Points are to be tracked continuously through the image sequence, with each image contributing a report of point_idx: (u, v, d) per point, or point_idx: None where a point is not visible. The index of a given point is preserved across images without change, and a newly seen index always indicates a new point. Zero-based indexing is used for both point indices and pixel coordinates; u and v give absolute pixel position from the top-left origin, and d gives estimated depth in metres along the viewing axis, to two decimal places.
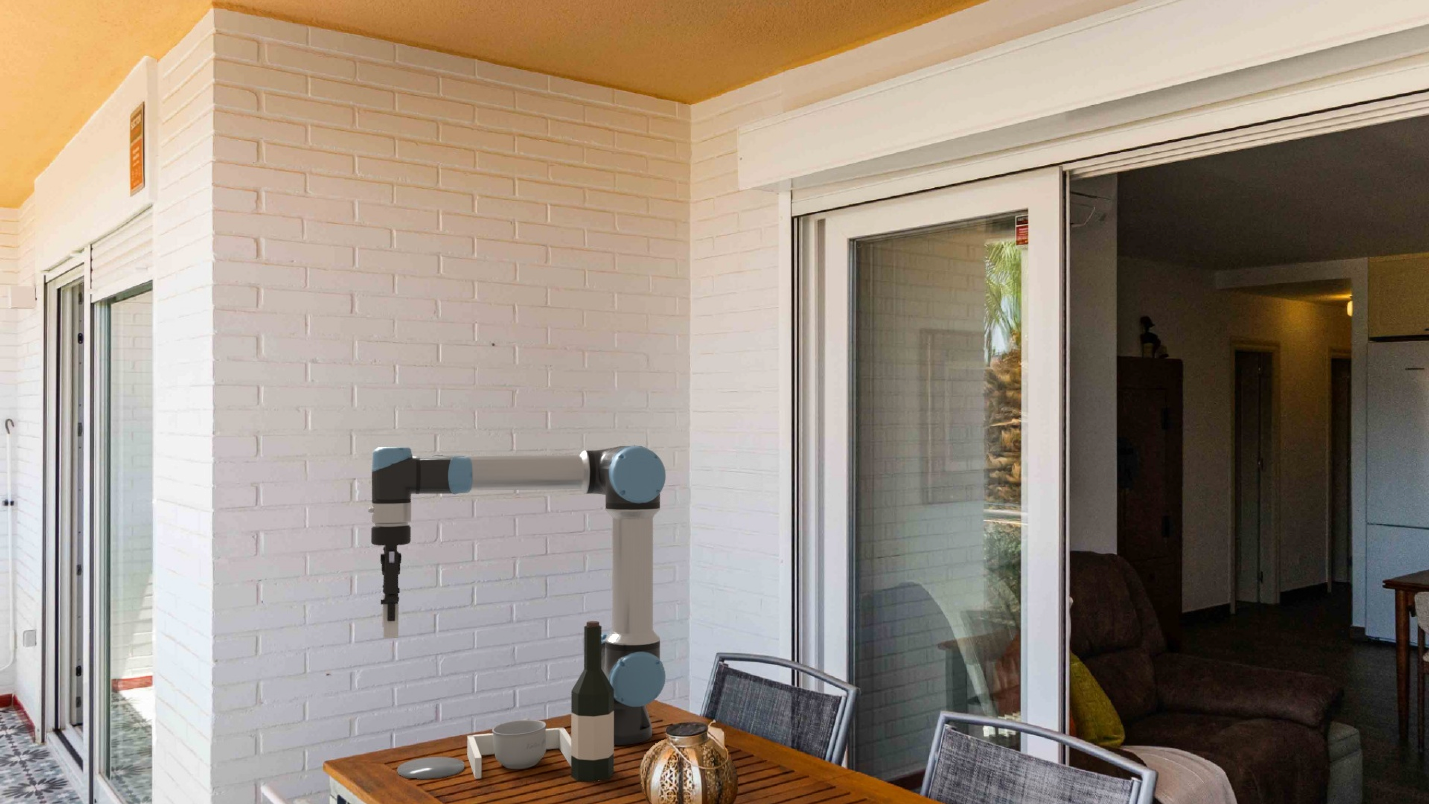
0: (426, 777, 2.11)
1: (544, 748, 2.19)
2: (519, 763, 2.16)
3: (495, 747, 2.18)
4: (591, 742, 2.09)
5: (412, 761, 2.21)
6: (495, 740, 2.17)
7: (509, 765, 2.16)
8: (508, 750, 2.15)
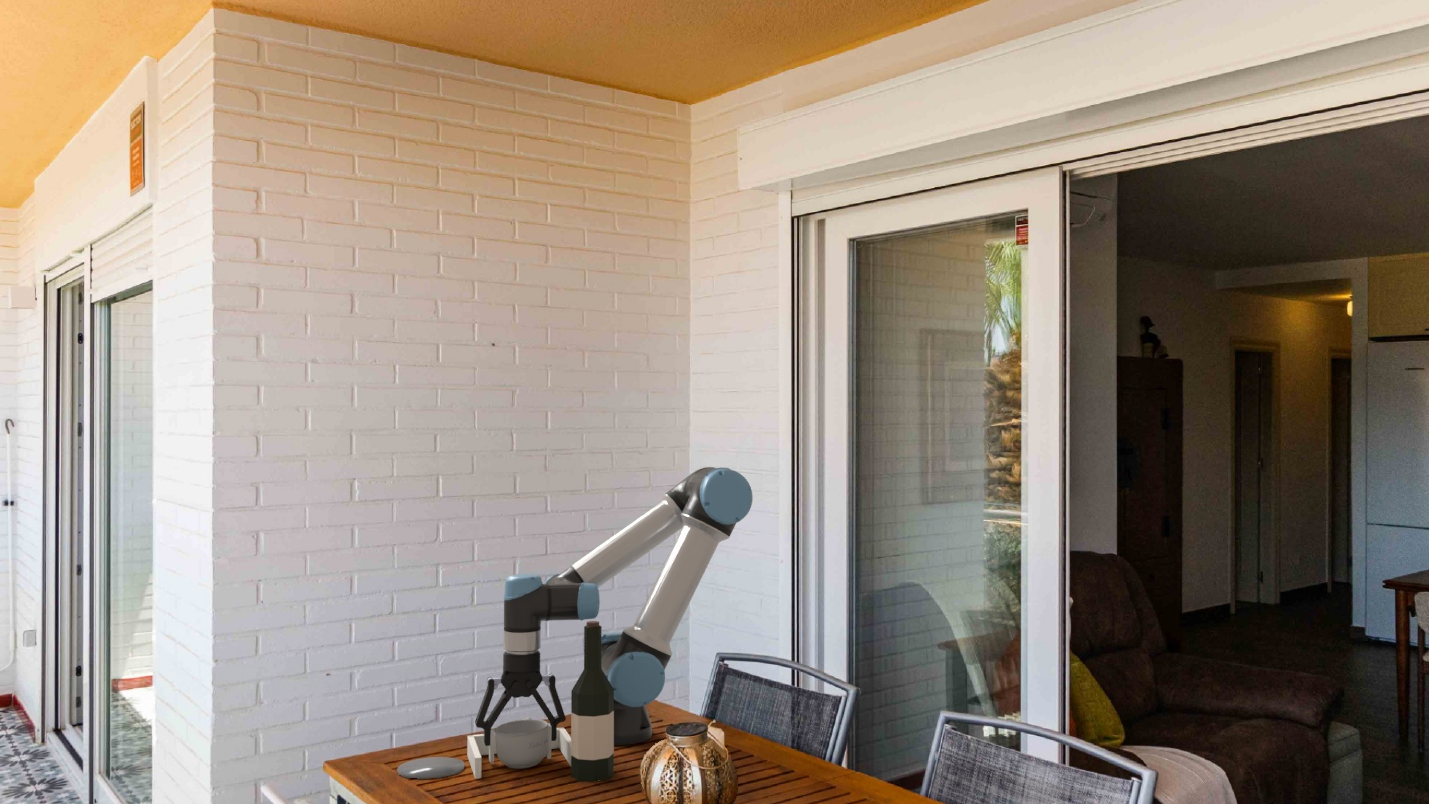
0: (426, 777, 2.11)
1: (546, 747, 2.20)
2: (521, 763, 2.16)
3: (497, 747, 2.18)
4: (591, 742, 2.09)
5: (412, 761, 2.21)
6: (497, 740, 2.18)
7: (511, 765, 2.16)
8: (510, 750, 2.15)
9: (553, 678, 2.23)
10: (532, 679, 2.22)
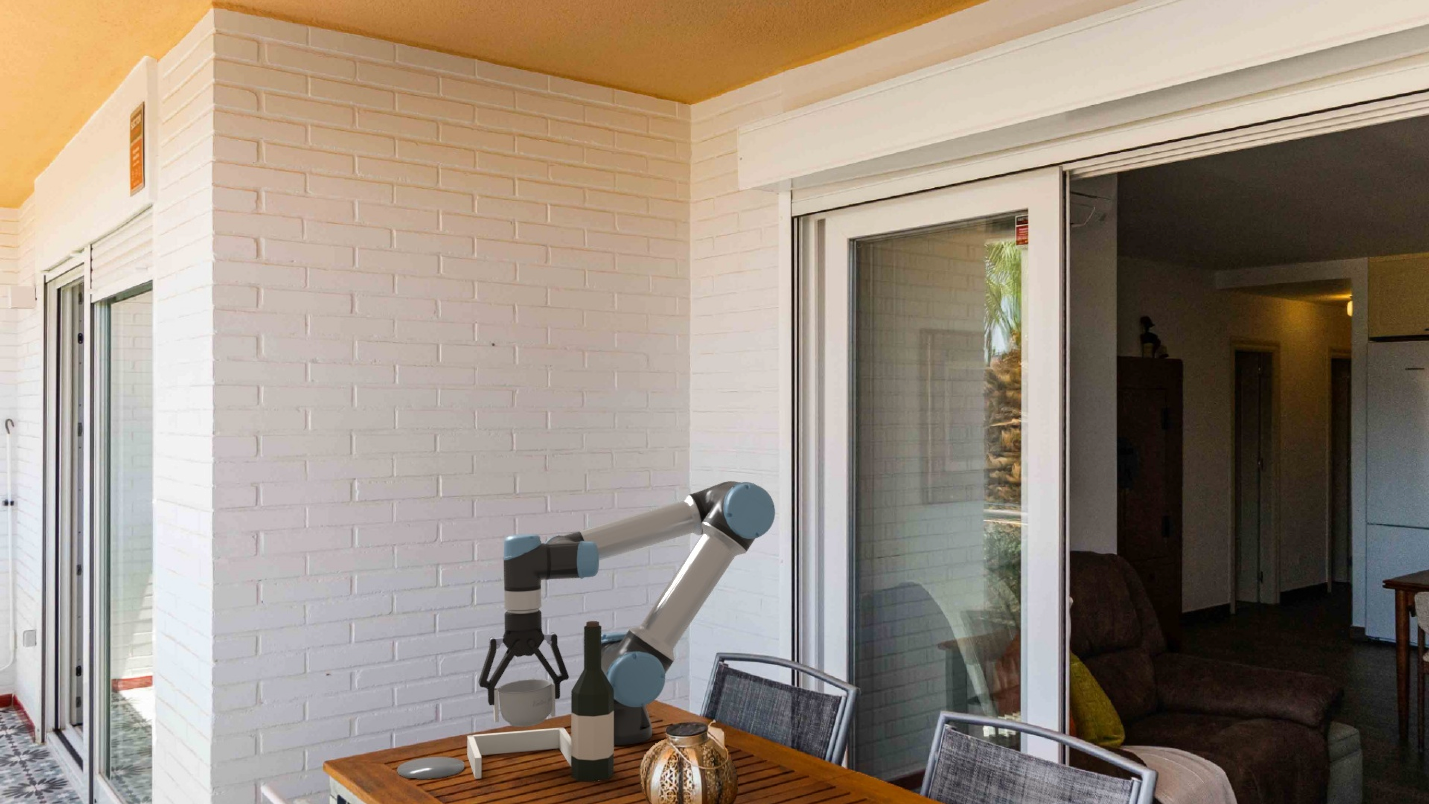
0: (426, 777, 2.11)
1: (550, 706, 2.20)
2: (526, 721, 2.16)
3: (501, 706, 2.18)
4: (591, 742, 2.09)
5: (412, 761, 2.21)
6: (501, 699, 2.18)
7: (516, 723, 2.17)
8: (514, 708, 2.16)
9: (555, 636, 2.23)
10: (534, 638, 2.22)
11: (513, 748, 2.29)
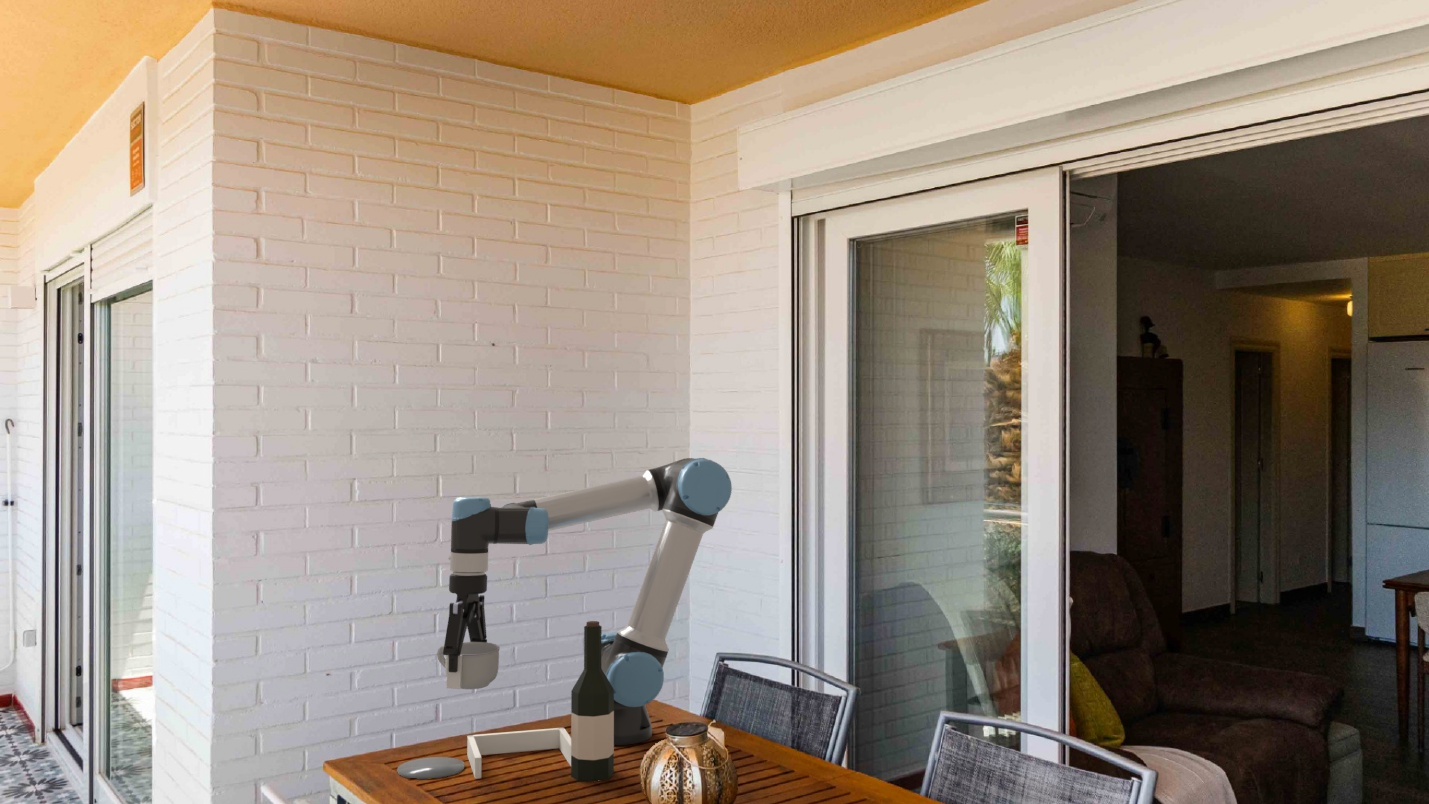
0: (426, 777, 2.11)
1: None
2: (492, 679, 2.18)
3: (469, 670, 2.14)
4: (591, 742, 2.09)
5: (412, 761, 2.21)
6: (470, 662, 2.14)
7: (483, 684, 2.16)
8: (488, 668, 2.16)
9: (484, 597, 2.26)
10: (476, 600, 2.22)
11: (513, 748, 2.29)
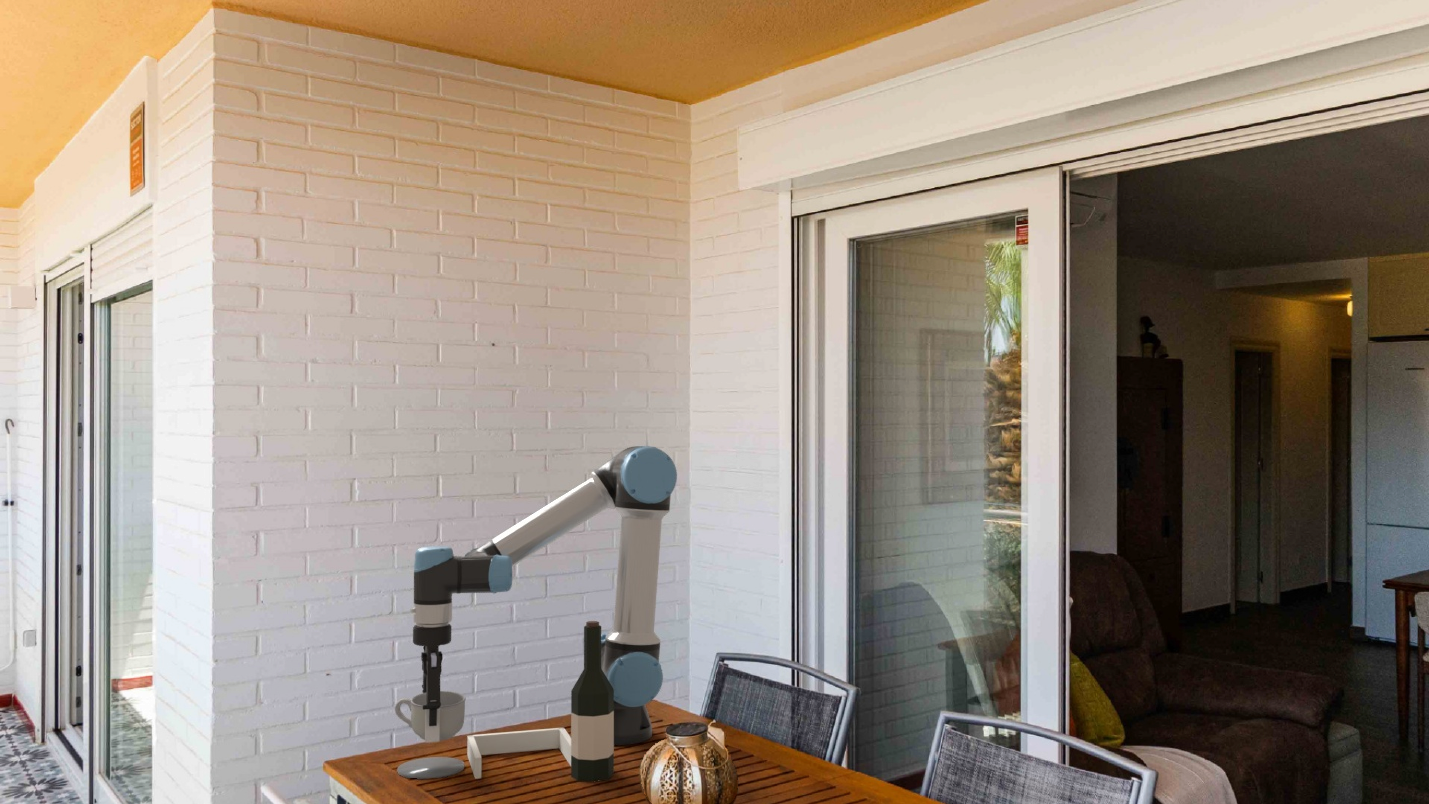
0: (426, 777, 2.11)
1: None
2: (461, 727, 2.19)
3: (445, 721, 2.14)
4: (591, 742, 2.09)
5: (412, 761, 2.21)
6: (447, 713, 2.14)
7: (455, 733, 2.17)
8: (461, 717, 2.17)
9: None
10: None
11: (513, 748, 2.29)
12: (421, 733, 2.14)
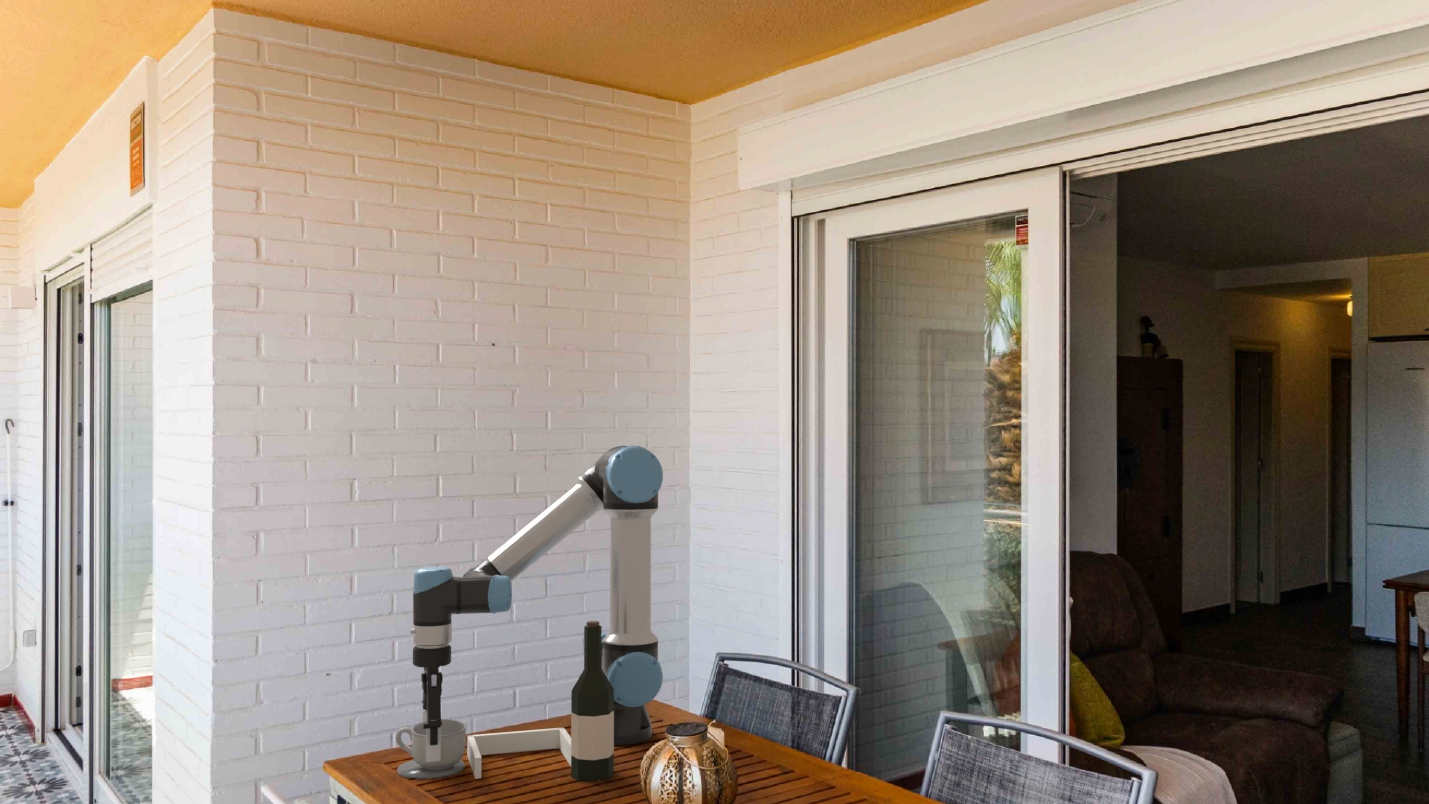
0: (426, 777, 2.11)
1: None
2: None
3: (446, 750, 2.13)
4: (591, 742, 2.09)
5: (412, 761, 2.21)
6: (448, 742, 2.13)
7: (456, 762, 2.16)
8: (462, 745, 2.16)
9: None
10: None
11: (513, 748, 2.29)
12: (422, 762, 2.13)
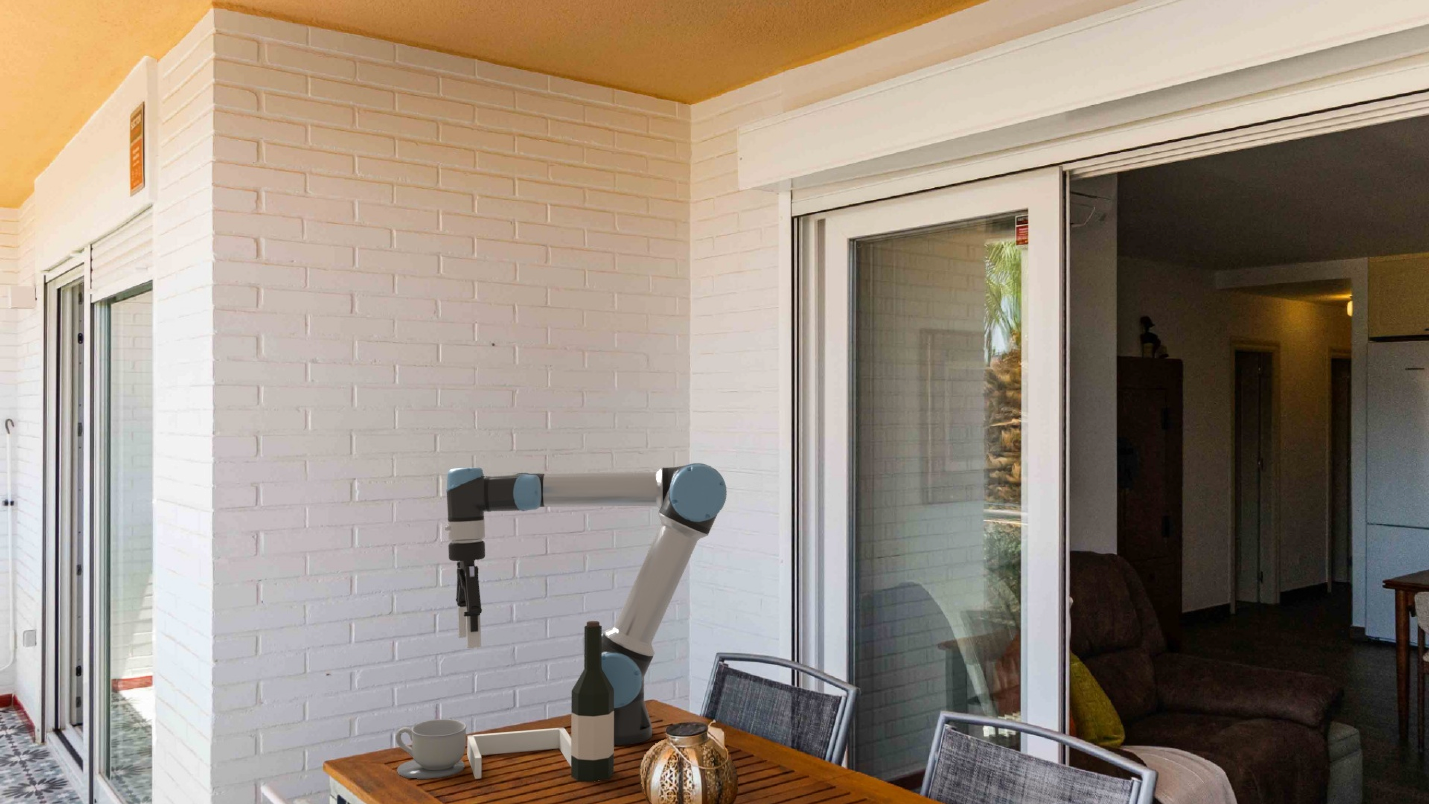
0: (426, 777, 2.11)
1: None
2: None
3: (446, 750, 2.13)
4: (591, 742, 2.09)
5: (412, 761, 2.21)
6: (448, 742, 2.13)
7: (456, 762, 2.16)
8: (462, 745, 2.16)
9: None
10: None
11: (513, 748, 2.29)
12: (422, 762, 2.13)
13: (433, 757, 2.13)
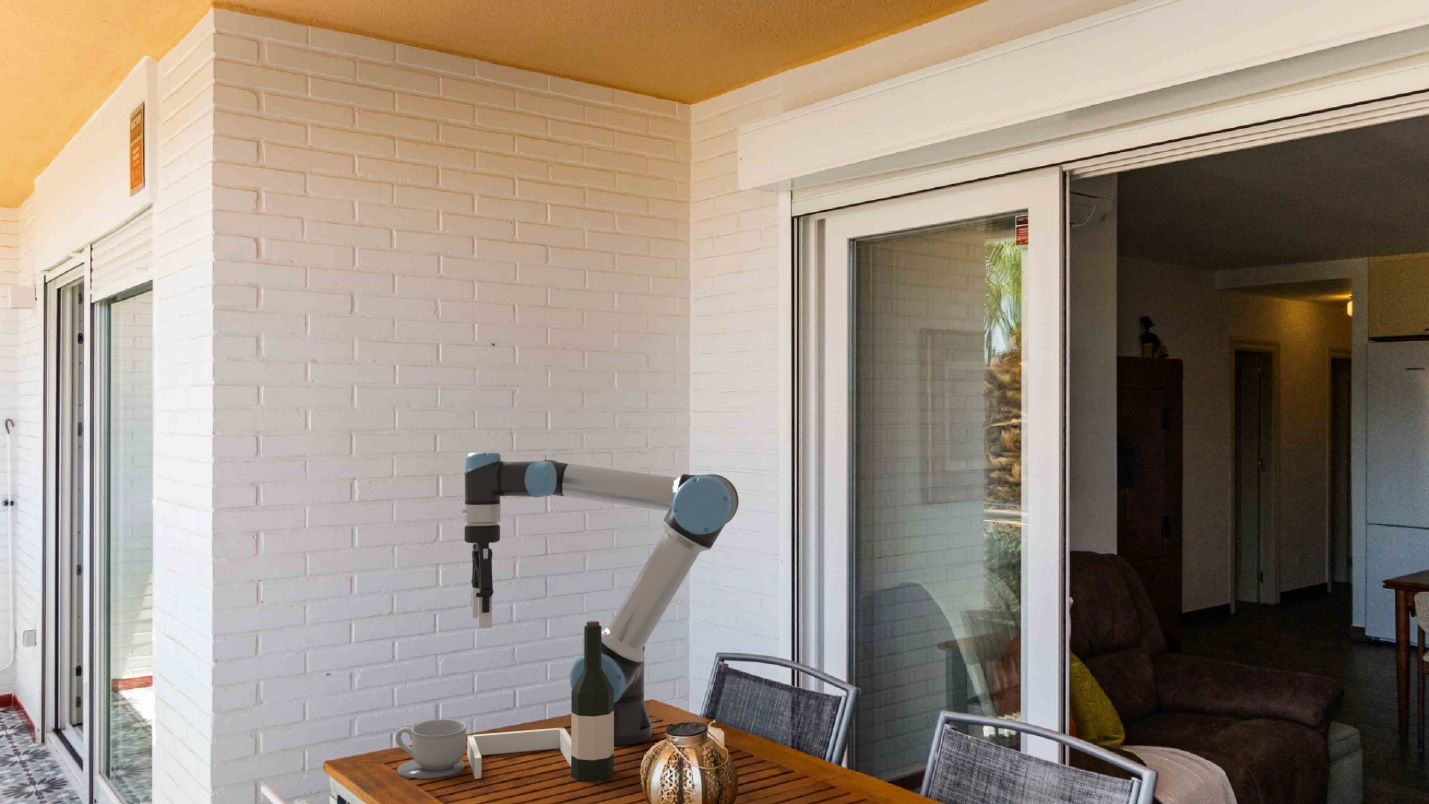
0: (426, 777, 2.11)
1: None
2: None
3: (446, 750, 2.13)
4: (591, 742, 2.09)
5: (412, 761, 2.21)
6: (448, 742, 2.13)
7: (456, 762, 2.16)
8: (462, 745, 2.16)
9: None
10: None
11: (513, 748, 2.29)
12: (422, 762, 2.13)
13: (433, 757, 2.13)
